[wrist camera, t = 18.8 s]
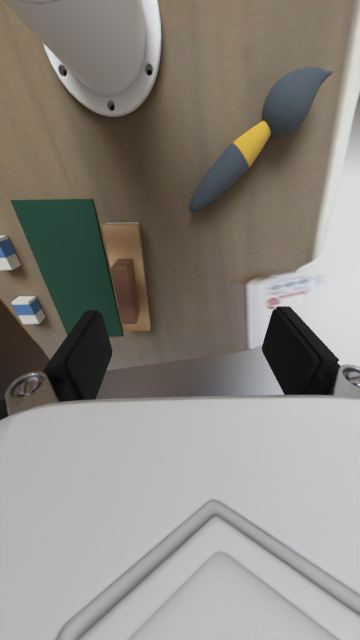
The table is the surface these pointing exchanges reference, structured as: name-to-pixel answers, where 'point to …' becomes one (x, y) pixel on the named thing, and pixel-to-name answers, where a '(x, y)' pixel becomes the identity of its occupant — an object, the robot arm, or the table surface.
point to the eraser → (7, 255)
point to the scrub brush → (128, 273)
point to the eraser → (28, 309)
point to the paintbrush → (262, 132)
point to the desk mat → (70, 258)
